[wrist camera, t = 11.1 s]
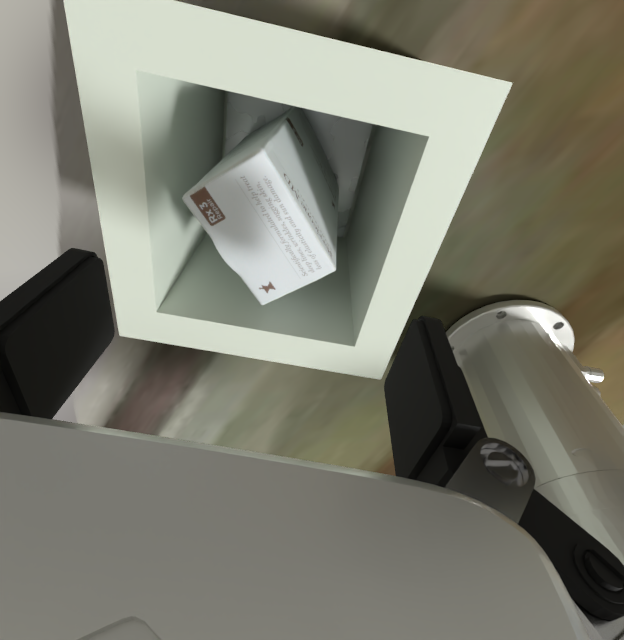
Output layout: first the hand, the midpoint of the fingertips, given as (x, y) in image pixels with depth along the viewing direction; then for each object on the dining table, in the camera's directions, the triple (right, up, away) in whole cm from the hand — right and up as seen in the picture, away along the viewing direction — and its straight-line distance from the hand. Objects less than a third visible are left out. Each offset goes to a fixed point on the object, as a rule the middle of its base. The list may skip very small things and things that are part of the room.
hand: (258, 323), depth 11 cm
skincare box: (0, +11, +14) cm, 18 cm away
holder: (+1, +12, +15) cm, 19 cm away
